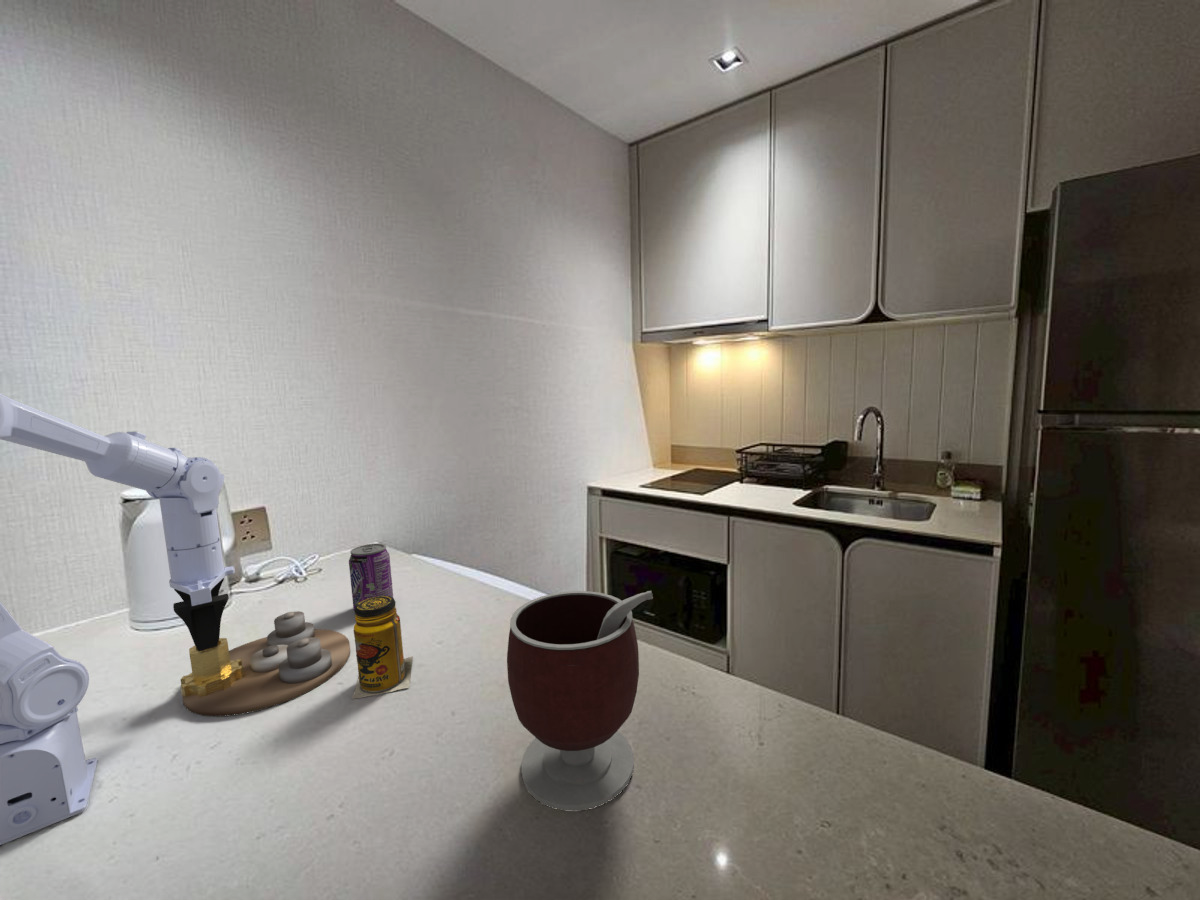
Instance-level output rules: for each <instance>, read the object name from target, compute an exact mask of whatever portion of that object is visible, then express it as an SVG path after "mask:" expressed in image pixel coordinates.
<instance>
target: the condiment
mask: <svg viewBox="0 0 1200 900" xmlns="http://www.w3.org/2000/svg"><path fill="white" fill-rule="evenodd" d="M396 602H397V601H396V599H395V598H394V596H393V597H390V596H376V597H371V598H368V599H365V600H363V601H361V602H359V603H358V604H357V605H356V607H355V611H354V613H355V618H354V619H355V624H354V625H353V636H354V641H355V644H354V645H355V652H356V653H355V654H356V662H357V663H356V664H357V672H358V679H357V683H356V686H355V689H354V693H353V695H352V698H351V699H352V700H355V699H360V698H365V697H367V698H368V697H371V696H372V697H373V696H378V695H382V694H383V695H384V694H386V693H387V694H388V693H391V692H395V691H399V690H404V689H409V688H410V686H411V685H410V683H411V677H412V667H413V659H414V655H413V656H408V657H406V658H404V650H403V649H404V648H403V647H404V646H403V639H402V638H403V637H402V628H401V617H400V615H399V614H398V613H397V608H396Z"/></svg>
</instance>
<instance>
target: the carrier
mask: <svg viewBox="0 0 1200 900" xmlns="http://www.w3.org/2000/svg"><path fill="white" fill-rule="evenodd" d="M273 624H274V630H272V631H270V633H269V634H268V635H267V636H265V637H262V638H259V639H255V640H252V641H250V642H247V643H244V644H242V645H238V646H236V647H235V648H232V649H229V656H230V661H235V660H237V659H240V660H242V665H243V670H244V676H243V678H241V679H237V680H236V681H235V682H233V683H232V684H231V687H229V688H227V689H225V690H223V689H221V690H218V691H215V692H212V693H209V694H208V695H207V696H203V697H199V696H198V695H189V696H187V697H184V696H182V695H181V697H182V698H181V699H182V703H183V706H184V708H185V707H186V708H185V709H186V710H187V709H188V710H187V711H189V712H190V711H191V712H190V713H193V714H195V713H196V714H195V715H198V714H199V715H200V716H204V717H227V715H230V716H237V715H236V714H238V715H243V714H242V713H244V714H248V713H247V712H249V713H253V712H252V711H254V712H258V711H261V709H262V710H265V709H268V708H272V707H274V706H277V705H281V704H283V703H287V702H288V701H291V700H293V699H296V698H299V697H300V696H302V695H305V694H307V693H309V692H311V691H312V690H314V689H316V688H317V687H320V686H321V685H323V684H324V683H326V682H327V681H329V680H330V679H332V678H333V677H334V676H335V675H336V674H338V673H339V672H340V671H341V670H342V669H343V668H344V666H345V665H346V664H347V663H348V662H349V659H350V657H351V645H350V640H349V638H348V637H347V636H346V635H345V634H343V633H341V632H338V631H336V630H331V629H322V628H315V625H314V623H312V622H308V621H306V619H305V613H304V612H303V611H299V610H298V611H289V612H288V611H287V612H285V613H283V614H280V615H278V616H277V617H275V618H274V619H273ZM181 694H182V691H181ZM257 710H258V711H257ZM234 714H235V715H234ZM199 715H198V716H199ZM225 715H226V716H225Z"/></svg>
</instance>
